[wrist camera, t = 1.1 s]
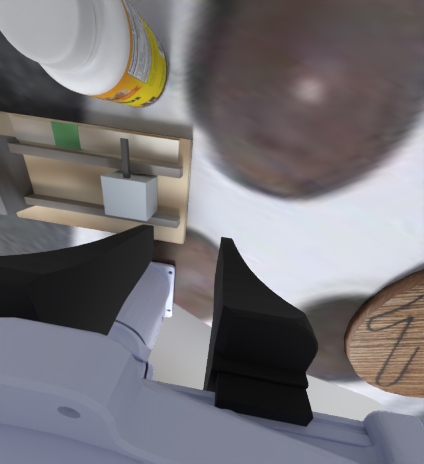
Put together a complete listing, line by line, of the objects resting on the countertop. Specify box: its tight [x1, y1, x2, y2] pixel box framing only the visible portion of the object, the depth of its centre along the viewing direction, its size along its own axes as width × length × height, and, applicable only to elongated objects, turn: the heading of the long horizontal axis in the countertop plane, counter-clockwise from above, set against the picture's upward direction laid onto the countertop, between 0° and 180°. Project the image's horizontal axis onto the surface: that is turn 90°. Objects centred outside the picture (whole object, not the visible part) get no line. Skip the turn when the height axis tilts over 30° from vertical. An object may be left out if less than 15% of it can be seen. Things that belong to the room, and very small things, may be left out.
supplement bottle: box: [0, 0, 169, 107], centre depth 12 cm, size 6×6×10 cm
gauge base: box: [0, 111, 193, 244], centre depth 20 cm, size 11×20×4 cm, turn 83°
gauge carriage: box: [101, 138, 157, 221], centre depth 18 cm, size 7×4×3 cm, turn 173°
